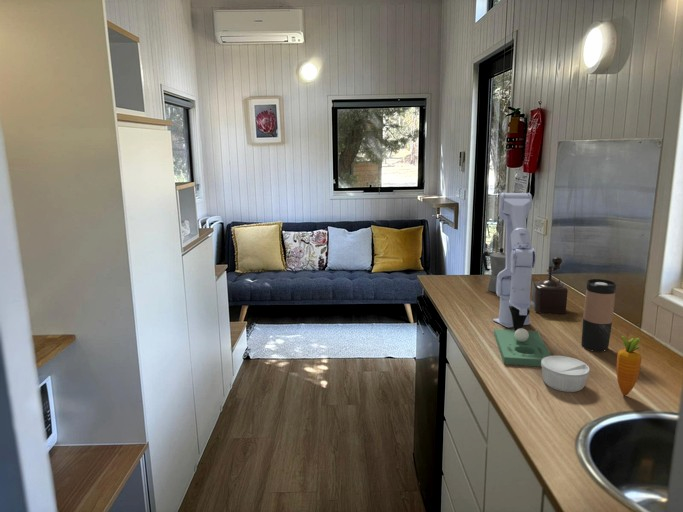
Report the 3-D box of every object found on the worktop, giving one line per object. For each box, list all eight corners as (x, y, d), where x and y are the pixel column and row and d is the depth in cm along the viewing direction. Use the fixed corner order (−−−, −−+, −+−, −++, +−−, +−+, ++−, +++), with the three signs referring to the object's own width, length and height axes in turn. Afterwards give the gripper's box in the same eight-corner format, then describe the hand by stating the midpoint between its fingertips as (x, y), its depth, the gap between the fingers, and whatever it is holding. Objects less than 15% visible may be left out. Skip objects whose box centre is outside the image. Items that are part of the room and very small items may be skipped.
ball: (522, 338, 148) (522, 325, 148) (531, 342, 145) (532, 330, 144) (511, 339, 147) (511, 327, 146) (520, 344, 143) (521, 331, 143)
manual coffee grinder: (568, 314, 175) (573, 265, 171) (535, 313, 177) (539, 264, 173) (558, 301, 190) (562, 256, 186) (528, 300, 192) (531, 255, 188)
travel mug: (606, 343, 149) (614, 280, 144) (611, 353, 142) (619, 286, 137) (578, 340, 151) (585, 278, 147) (581, 350, 144) (588, 284, 140)
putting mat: (494, 334, 157) (494, 328, 156) (537, 337, 154) (537, 331, 154) (503, 363, 136) (504, 357, 135) (553, 367, 133) (554, 360, 133)
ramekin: (585, 399, 117) (587, 378, 115) (535, 387, 122) (537, 367, 121) (590, 380, 126) (592, 361, 125) (543, 370, 132) (545, 352, 131)
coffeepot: (519, 291, 204) (522, 248, 200) (508, 295, 198) (511, 252, 194) (485, 284, 215) (488, 243, 211) (474, 288, 208) (476, 246, 205)
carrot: (608, 391, 120) (615, 333, 117) (627, 390, 120) (634, 332, 117) (621, 401, 115) (628, 341, 112) (641, 400, 116) (649, 340, 112)
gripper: (539, 295, 142) (535, 339, 145) (529, 282, 156) (526, 322, 159) (513, 294, 143) (510, 338, 146) (506, 281, 157) (503, 321, 160)
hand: (517, 330), depth 152 cm, fingers closed
